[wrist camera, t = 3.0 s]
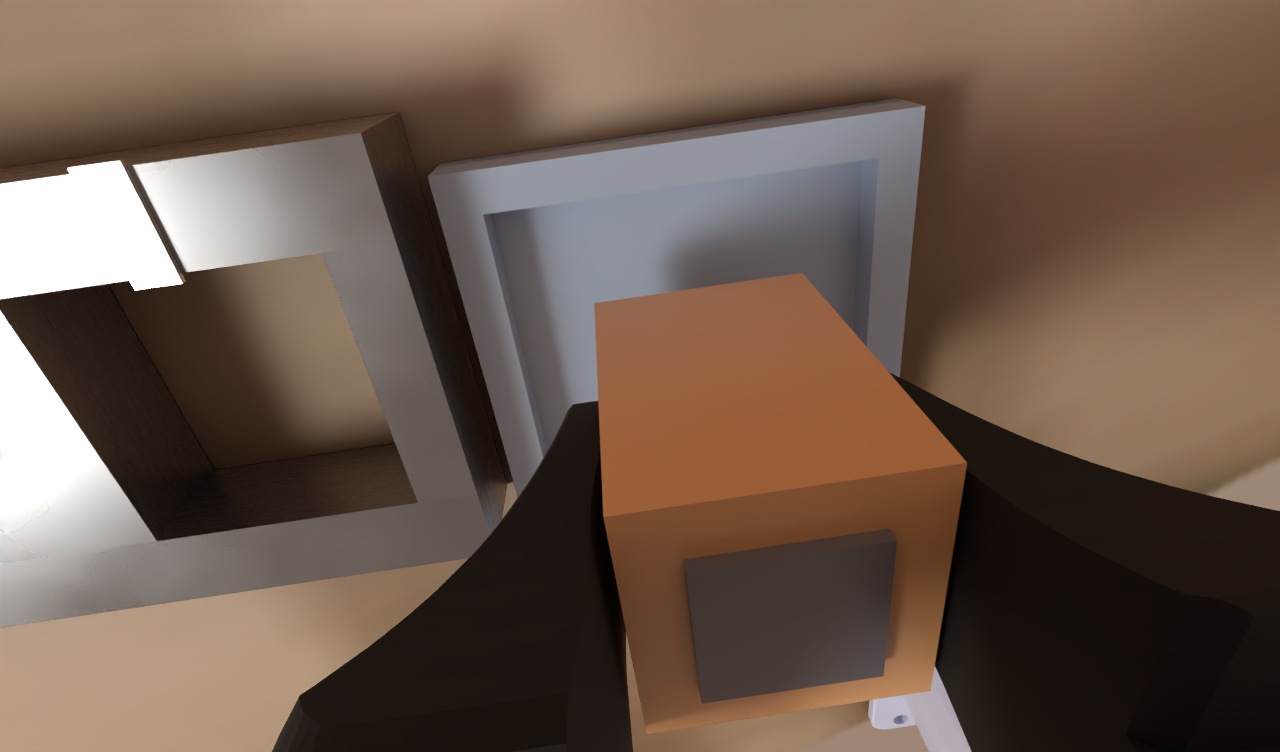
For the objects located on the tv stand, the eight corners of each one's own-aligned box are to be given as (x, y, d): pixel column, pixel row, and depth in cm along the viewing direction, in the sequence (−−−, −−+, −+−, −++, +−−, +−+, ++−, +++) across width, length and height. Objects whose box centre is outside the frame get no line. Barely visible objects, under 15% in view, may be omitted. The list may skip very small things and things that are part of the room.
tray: (896, 98, 13) (925, 105, 11) (869, 462, 17) (888, 491, 16) (440, 162, 12) (427, 177, 11) (534, 511, 17) (531, 544, 16)
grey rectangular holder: (396, 106, 12) (356, 126, 10) (506, 485, 16) (496, 556, 14) (-583, 244, 12) (-847, 296, 10) (-197, 589, 16) (-317, 678, 14)
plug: (802, 272, 12) (977, 473, 7) (801, 442, 14) (937, 704, 9) (594, 303, 12) (603, 530, 7) (622, 469, 14) (648, 748, 9)
